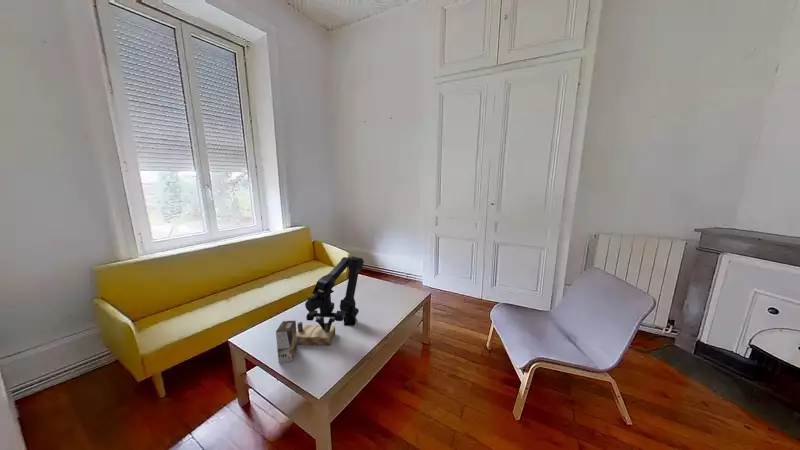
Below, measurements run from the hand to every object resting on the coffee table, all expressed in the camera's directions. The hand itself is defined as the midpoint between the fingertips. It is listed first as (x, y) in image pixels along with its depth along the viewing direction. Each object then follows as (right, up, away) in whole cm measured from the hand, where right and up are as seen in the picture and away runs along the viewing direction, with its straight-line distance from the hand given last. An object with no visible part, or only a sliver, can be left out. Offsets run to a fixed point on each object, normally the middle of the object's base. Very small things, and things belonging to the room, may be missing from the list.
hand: (326, 330), depth 139 cm
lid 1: (-12, -1, +1) cm, 12 cm away
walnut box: (-7, -5, +1) cm, 9 cm away
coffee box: (-15, -8, -11) cm, 21 cm away
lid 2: (-2, -1, 0) cm, 2 cm away
